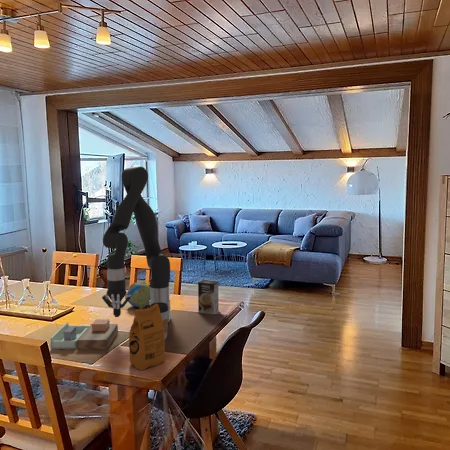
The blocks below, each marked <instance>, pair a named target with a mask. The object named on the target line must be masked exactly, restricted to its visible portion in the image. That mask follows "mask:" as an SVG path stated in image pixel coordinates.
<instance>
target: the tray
mask: <svg viewBox="0 0 450 450" xmlns="http://www.w3.org/2000/svg"><path fill="white" fill-rule="evenodd" d="M89 326H90V325H89V324H88V325H87V324H86V325H69V322H65V323H64V324H63V325H62V326H61V327H60V328H59V329H58V330H57V331H56V332H55V333H54V334H53V335H52V336H50V338H49V339H50V350H51V349H54V351H55V349H56V350H57V349H65V350H76V349H78V344H77V340H78V339H79V338H80V336H81V335H82V334H83V333H84V332H85V331H86V330H87V328H88V327H89ZM68 327H76V337H77V339H76V340H74V341H64V331H65V330H66V329H67V328H68Z"/></svg>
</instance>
